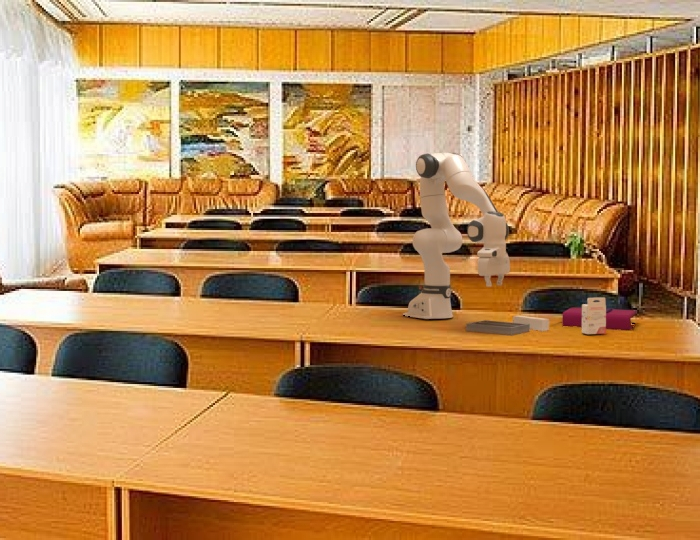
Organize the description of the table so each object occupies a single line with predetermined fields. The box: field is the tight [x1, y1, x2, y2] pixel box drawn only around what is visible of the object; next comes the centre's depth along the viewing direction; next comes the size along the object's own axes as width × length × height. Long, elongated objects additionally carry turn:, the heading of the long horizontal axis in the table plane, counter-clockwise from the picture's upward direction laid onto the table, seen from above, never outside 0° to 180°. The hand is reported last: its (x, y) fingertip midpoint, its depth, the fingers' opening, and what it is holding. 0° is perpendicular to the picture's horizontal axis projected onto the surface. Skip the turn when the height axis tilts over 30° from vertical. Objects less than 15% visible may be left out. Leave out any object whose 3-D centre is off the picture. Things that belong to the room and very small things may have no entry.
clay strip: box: [512, 315, 550, 332], centre depth 443 cm, size 16×4×5 cm, turn 40°
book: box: [561, 306, 638, 331], centre depth 452 cm, size 21×28×8 cm
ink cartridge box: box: [581, 297, 607, 335], centre depth 429 cm, size 9×5×15 cm, turn 105°
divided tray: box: [465, 319, 530, 336], centre depth 434 cm, size 21×15×3 cm
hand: (494, 285), depth 430 cm, fingers open, 7 cm apart
